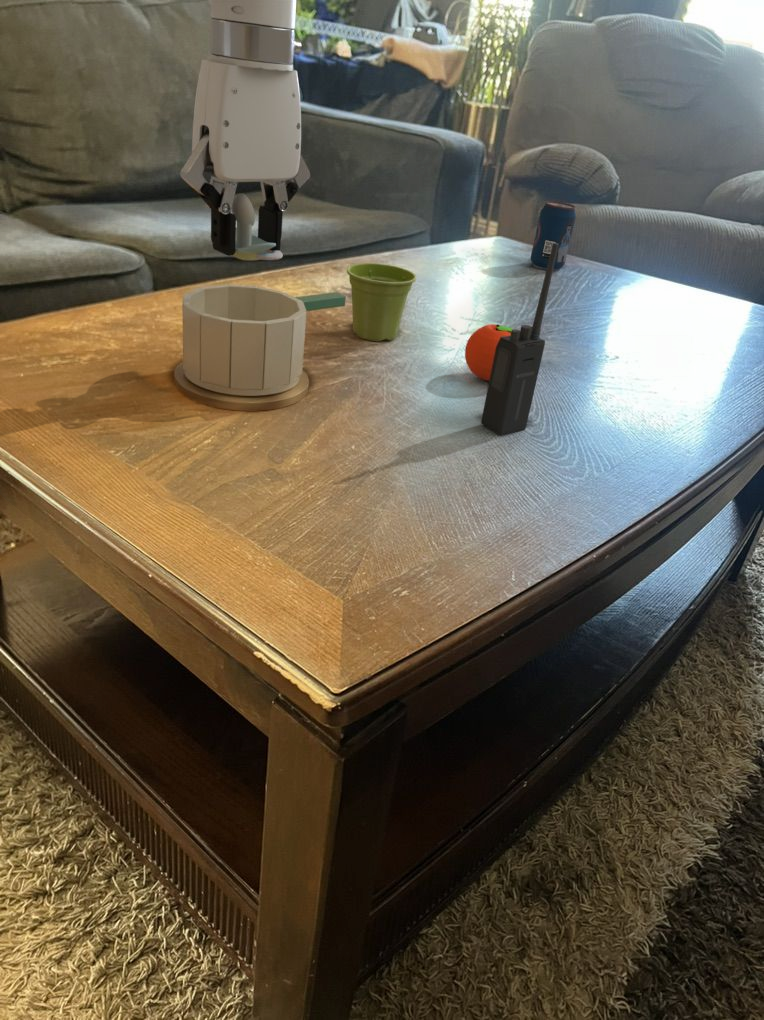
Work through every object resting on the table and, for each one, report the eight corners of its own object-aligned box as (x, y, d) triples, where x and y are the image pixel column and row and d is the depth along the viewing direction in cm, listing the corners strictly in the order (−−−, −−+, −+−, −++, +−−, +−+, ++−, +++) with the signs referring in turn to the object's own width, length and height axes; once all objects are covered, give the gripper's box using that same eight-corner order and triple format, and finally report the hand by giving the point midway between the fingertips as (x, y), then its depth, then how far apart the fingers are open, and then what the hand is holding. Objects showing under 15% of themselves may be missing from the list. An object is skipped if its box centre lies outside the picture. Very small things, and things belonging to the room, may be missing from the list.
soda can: (531, 260, 160) (545, 198, 154) (565, 266, 159) (580, 205, 152) (526, 266, 154) (540, 203, 148) (561, 273, 153) (576, 210, 147)
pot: (369, 373, 92) (377, 307, 88) (224, 404, 80) (225, 329, 76) (303, 337, 100) (308, 275, 96) (161, 361, 88) (159, 290, 83)
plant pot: (332, 338, 105) (338, 273, 100) (351, 319, 113) (357, 258, 108) (399, 351, 104) (408, 287, 99) (413, 331, 112) (422, 270, 107)
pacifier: (253, 247, 85) (206, 249, 81) (256, 186, 82) (208, 185, 78) (295, 264, 81) (248, 267, 77) (300, 201, 78) (251, 201, 74)
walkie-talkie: (506, 416, 89) (546, 238, 79) (527, 428, 87) (571, 246, 77) (476, 423, 87) (514, 239, 76) (497, 436, 85) (539, 248, 74)
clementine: (518, 372, 102) (529, 320, 99) (526, 393, 96) (539, 338, 93) (458, 365, 102) (467, 312, 98) (462, 386, 96) (473, 330, 92)
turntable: (222, 422, 79) (223, 413, 79) (149, 371, 88) (148, 362, 88) (335, 394, 89) (335, 386, 88) (258, 351, 97) (258, 343, 97)
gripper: (300, 51, 79) (290, 236, 88) (147, 34, 68) (153, 246, 78) (349, 60, 74) (332, 253, 84) (192, 43, 64) (194, 267, 73)
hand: (246, 248), depth 81 cm, fingers closed on pacifier, 4 cm apart
